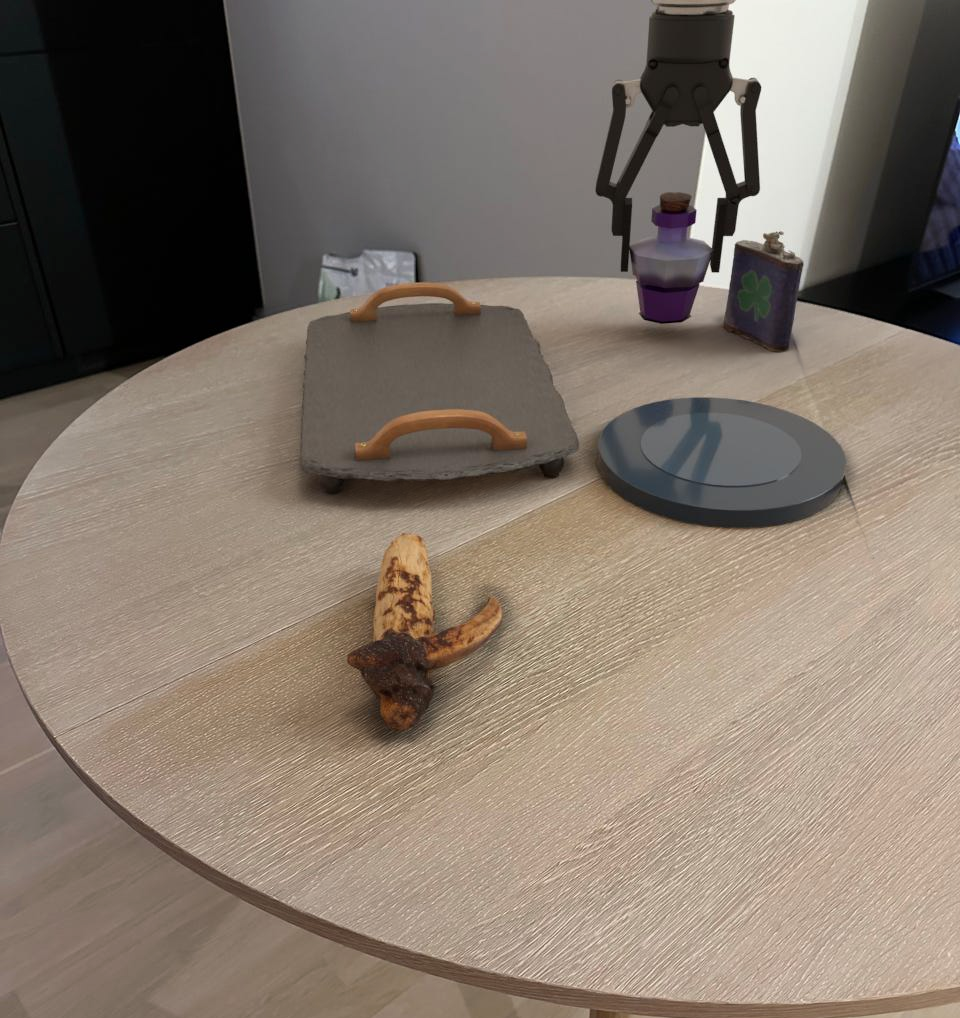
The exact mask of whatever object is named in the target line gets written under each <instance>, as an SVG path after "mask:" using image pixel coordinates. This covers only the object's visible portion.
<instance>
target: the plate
mask: <svg viewBox="0 0 960 1018" xmlns="http://www.w3.org/2000/svg"><path fill="white" fill-rule="evenodd" d="M844 451H845V450H843V447H842V446H841V444H840V442H838V440H836V438H835V437H833V436H832V435H831V433H829V432H828V431H827V430H826V429H824V428H823V427H821V426H820V425H818V424H817V423H815V422H812V421H811V420H809V419H807V418H805V417H803V416H801V415H799V414H796V413H794V412H790V411H788V410H785V409H782V408H779V407H775V406H772V405H768V404H764V403H759V402H755V401H749V400H744V399H736V398H735V399H734V398H729V397H728V398H727V397H710V396H709V397H705V396H704V397H703V396H702V397H700V396H699V397H697V396H695V397H680V398H679V397H678V398H670V399H664V400H659V401H653V402H650V403H646V404H642V405H640V406H636V407H634V408H631V409H629V410H627V411H624V412H622V413H621V414H619V415H617V416H616V417H614V418H613V419H612V420H611V421H610V422H608V423H607V424H606V425H605V427H604V428H603V429H602V431H601V433H600V435H599V437H598V444H597V457H596V463H597V469H598V471H599V474H600V476H601V478H602V480H603V481H604V482H605V484H606V485H607V486H608V487H609V488H610V489H611V490H612V491H613V492H614V493H615V494H617V495H618V496H619V497H621V498H622V499H624V500H625V501H627V502H629V503H631V504H632V505H634V506H636V507H638V508H640V509H642V510H644V511H646V512H649V513H652V514H654V515H657V516H659V517H663V518H666V519H670V520H673V521H677V522H682V523H686V524H691V525H696V526H697V525H698V526H703V527H704V526H705V527H712V528H722V529H754V528H766V527H774V526H780V525H785V524H789V523H794V522H797V521H799V520H802V519H805V518H808V517H810V516H812V515H815V514H817V513H819V512H820V511H821V510H823V509H825V508H827V507H828V506H829V505H831V503H832V502H833V501H834V500H835V499H836V497H837V496H838V495H839V494H840V491H841V489H842V486H843V483H844V482H843V481H844V479H845V475H846V470H847V458H846V454H845V452H844Z"/></svg>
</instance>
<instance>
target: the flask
mask: <svg viewBox="0 0 960 1018" xmlns="http://www.w3.org/2000/svg"><path fill="white" fill-rule="evenodd" d="M784 234H785V232H784V231H781V230H780V231H775V232H769V233H765V232H764V233H762V238H763V239H764V240H765V241H764V243H762V242H761V243H760V242H758V241H754V240H747V239H742V240H738V241H736V242H735V243H734V248H733V259H732V266H731V272H730V281H729V284H728V285H729V287H728V294H727V300H726V306H725V312H724V317H723V327H724V328H725V329H726V330H728V331H729V332H731V333H735V334H738V336H740V337H742V338H743V339H746V340H751V341H754V343H756V344H759V345H760V346H761V347H764V348H766V349H767V350H769V351H773V352H779V353H783V352H787V351H788V350H790V345H791V344H790V343H791V338H792V332H793V331H792V330H793V325H794V322H795V313H796V307H797V301H798V297H799V290H800V285H801V279H802V273H803V268H804V264H805V263H804V260H803V259H802V257H799V256H797V255H796V253H795V252H794V251H792V250H788V251H785V247H786V245H785V244H784V242H781V241H779V239H780V236H782V235H783V236H784Z"/></svg>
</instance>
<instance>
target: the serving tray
mask: <svg viewBox="0 0 960 1018" xmlns="http://www.w3.org/2000/svg"><path fill="white" fill-rule="evenodd" d="M413 297H414V298H415V297H430V298H431V297H433V298H441V299H445V300H448V301H450V303H442V302H431V303H430V302H429V303H413V304H395V305H387V306H382V305H383V304H384V303H386V302H389V301H393V300H397V299H398V300H399V299H403V298H413ZM305 341H306V342H305V354H304V360H305V363H304V364H305V366H304V370H303V377H304V378H303V380H304V381H303V385H302V388H303V390H302V403H301V409H302V412H301V413H302V415H301V431H300V446H299V447H300V451H299V465H300V469H301V470H302V471H303V472H305V473H311V474H315V475H318V476H317V481H318V484H319V485H318V486H319V487H320V488H321V489H322V490H323V491H324V493H325V494H326V495H332V496H333V495H338V494H339V493H341V492H342V488H344V485H345V481H346V479H347V480H348V479H354V480H363V481H377V482H397V481H398V482H399V481H431V482H432V481H433V482H434V481H448V480H460V479H464V478H474V477H480V476H485V475H493V474H499V473H505V472H506V473H507V472H512V471H513V472H514V471H518V470H522V469H526V468H531V467H534V466H536V465H538V468H539V471H540V472H541V473H542V476H543V477H545V478H546V479H555V478H558V477H559V476H560V473H562V471H563V470H564V468H565V458H567V457H568V456H570V455H574V454H575V453H577V452H578V451H579V450H580V441H579V438H578V434H577V432H576V431H575V429H574V426H573V425H572V424H573V423H572V420H571V419H570V417H569V414H568V413H567V409H566V406H565V402H564V398H563V397H562V395H561V394H560V392H559V391H558V390H557V389H556V386H555V385H554V382H553V374H552V372H551V369H550V366H549V365H548V363H547V362H546V361H545V359H544V356H543V355H542V351H541V346H540V342H539V341H538V340H537V339H536V338H535V337H534V335H533V334H532V330H531V328H530V326H529V324H528V321H527V320H526V318H525V314H524V313H523V311H522V310H521V309H520V308H515V307H511V306H507V305H488V304H487V305H486V304H481V302H480V301H470V300H468V299H467V298H465V296H464V295H462V294H461V293H460V292H459V291H457V289H455V288H453V287H452V286H450V285H448V284H443V283H437V282H427V281H426V282H423V281H422V282H421V281H419V282H406V283H397V284H392V285H388V286H385V287H382V288H380V289H378V290H377V291H375V292H374V293H372V294H371V295H370V296H369V298H367V300H366V301H365V303H363V304H362V306H360V307H357V308H350V309H349V312H345V313H344V312H343V313H339V314H333V315H325V316H322V317H319V318H317V319H313V320H310V321H309V323H308V326H307V330H306V339H305Z"/></svg>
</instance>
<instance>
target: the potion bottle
mask: <svg viewBox="0 0 960 1018" xmlns="http://www.w3.org/2000/svg"><path fill="white" fill-rule="evenodd" d="M692 198H693V195H691V194H690V193H686V192H682V191H679V192H671V191H667V192H663V193H661V194H660V195H659V205H657V206H654V207H652V209H651V219H650V220H651V221H650V223H652V224H653V225H654V226H655V227H657V236H651V237H645V238H643V239H640V240H639V241H636V242H634V243H633V244H630V247H629V258H630V263H631V270H632V276H635V278H636V280H635V285H636V291H637V300H638V307H639V312H638V314H639V316H640V318H642V320H643V321H646V322H651V323H655V324H660V325H669V324H678V323H684V322H685V321H687V320H688V319H690V318H692V315H691V312H692V309H693V307H694V303H695V300H696V297H697V294H698V291H699V288H700V286H701V284H700V283H703V282H704V281H705V278H706V275H707V272H708V268H709V266H710V260H711V257H712V254H713V251H714V250H713V249H712V246H710V245H709V244H708V243H706V241H705V240H701V239H697V238H693V237H687V235H688V227H691V226H693V225H695V224H696V220H697V211H698V210H697V208H695V207H693V205H690V204H691V200H692Z"/></svg>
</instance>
